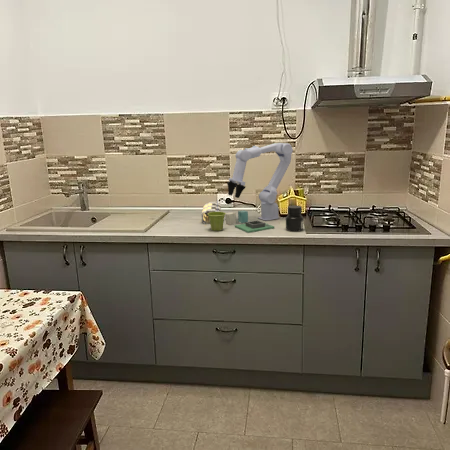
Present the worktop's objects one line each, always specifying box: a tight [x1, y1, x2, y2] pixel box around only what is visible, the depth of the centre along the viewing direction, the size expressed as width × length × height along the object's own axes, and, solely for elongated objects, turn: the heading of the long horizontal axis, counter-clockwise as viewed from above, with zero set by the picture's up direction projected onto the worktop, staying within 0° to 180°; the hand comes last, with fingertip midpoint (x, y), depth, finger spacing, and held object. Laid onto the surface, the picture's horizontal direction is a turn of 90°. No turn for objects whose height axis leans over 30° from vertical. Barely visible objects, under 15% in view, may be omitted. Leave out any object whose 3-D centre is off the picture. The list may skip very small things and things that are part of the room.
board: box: [234, 219, 275, 234], centre depth 226 cm, size 16×14×3 cm
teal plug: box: [237, 210, 249, 224], centre depth 239 cm, size 4×4×6 cm
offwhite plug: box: [224, 211, 237, 226], centre depth 235 cm, size 4×4×6 cm
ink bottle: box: [285, 205, 304, 232], centre depth 218 cm, size 10×9×12 cm
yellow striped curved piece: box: [201, 199, 222, 225], centre depth 248 cm, size 25×10×13 cm, turn 0°
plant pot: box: [207, 211, 227, 232], centre depth 224 cm, size 9×9×9 cm
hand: (233, 196), depth 233 cm, fingers open, 7 cm apart
